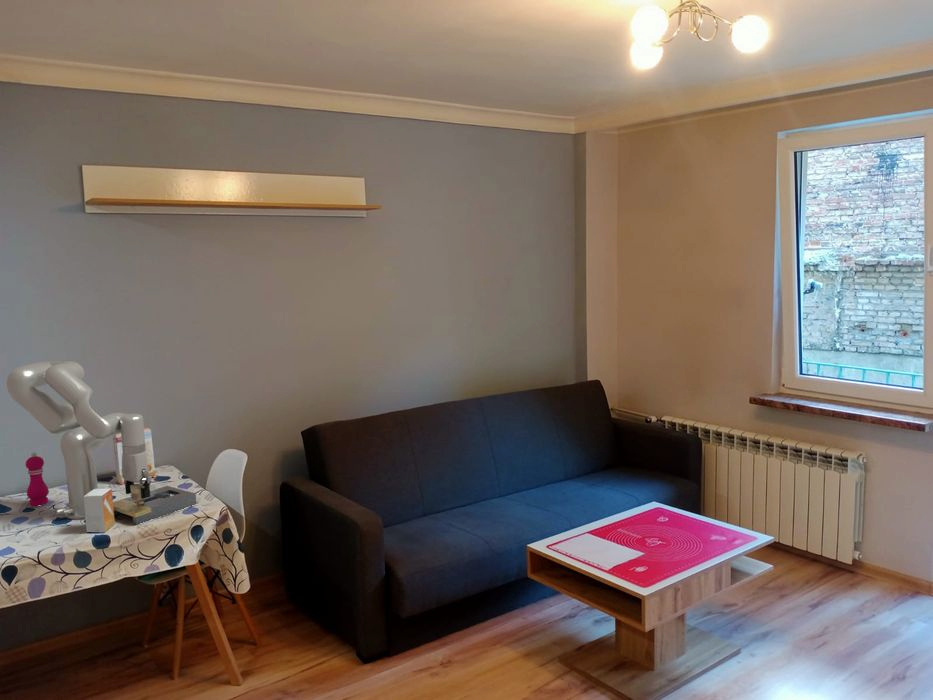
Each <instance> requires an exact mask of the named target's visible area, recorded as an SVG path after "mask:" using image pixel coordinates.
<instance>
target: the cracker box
mask: <svg viewBox="0 0 933 700" xmlns="http://www.w3.org/2000/svg"><path fill="white" fill-rule="evenodd" d="M144 435H145V447H146V452H145V453H146V458H147V463H148V470H149V474H150V475H151V477H154V476H155V477H156V469H155V467H156V466H155V458H154V457H155V456H154V446H153V438H152V435H153V434H152V429H151V428H148V427H144ZM112 443H113V444H112V445H113V446H112V447H113V453H114V454H113V455H114V464H115V473H116V481H118V482H117V483H119V484H120V485H125V484H124V479H123V477H122V471H121V470H122V454H123V450H122V438H121V433H119V434H116V435H113V436H112ZM155 477H154V478H155Z"/></svg>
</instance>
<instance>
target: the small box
mask: <svg viewBox="0 0 933 700" xmlns="http://www.w3.org/2000/svg"><path fill="white" fill-rule="evenodd" d="M113 499H114V497H113V488H111V487H110V488H98V489H93V490H92V491H91V492H89V493H88V494H86V495H85V496H84V507H85V518H84V519H85V527H86V528H85V529H86V533H87V532H100V533H106V532H107V531H108V530H110V529H111V528H112V527H113V526H114V525H115V524H116V522H115V515H114V509H113V502H114V500H113ZM111 526H112V527H111Z"/></svg>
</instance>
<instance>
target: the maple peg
mask: <svg viewBox="0 0 933 700" xmlns="http://www.w3.org/2000/svg"><path fill="white" fill-rule="evenodd" d="M143 484H144V482H143ZM130 488H131V493H130V497H131V498H132V499H134V500H136V501H137V504H142V503H144V499H145V498H144V499H142V498H141V490H140V488H142V487H141V485H140V483H139V482H137V483H134V484H133V485H130ZM147 498H148V497H147Z"/></svg>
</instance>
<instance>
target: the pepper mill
mask: <svg viewBox="0 0 933 700" xmlns="http://www.w3.org/2000/svg"><path fill="white" fill-rule="evenodd" d="M37 454H38V453H36V452H32V453H31V457H29V458H27V459H26V461H25V467H26V469H28V470H27V474H28V475H29V479H30V481H29V485H28V487H27V490H26V497H27V498H28V499H29V500H28V502H29V503H28V504H29V506H30V505H31V506H30V507H33V506H35V507H39V506H38V505H42V506H44V505H43V504H45V505H47V504H49V497H47V496H48V495H49V492H50V490H49V488H48V486H47V484H46V483H45V481H44V478H43V473H44V468H43V467H44V464H45V461H44V459H43V458H42V457H41V456H38V455H37ZM46 503H47V504H46Z"/></svg>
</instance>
